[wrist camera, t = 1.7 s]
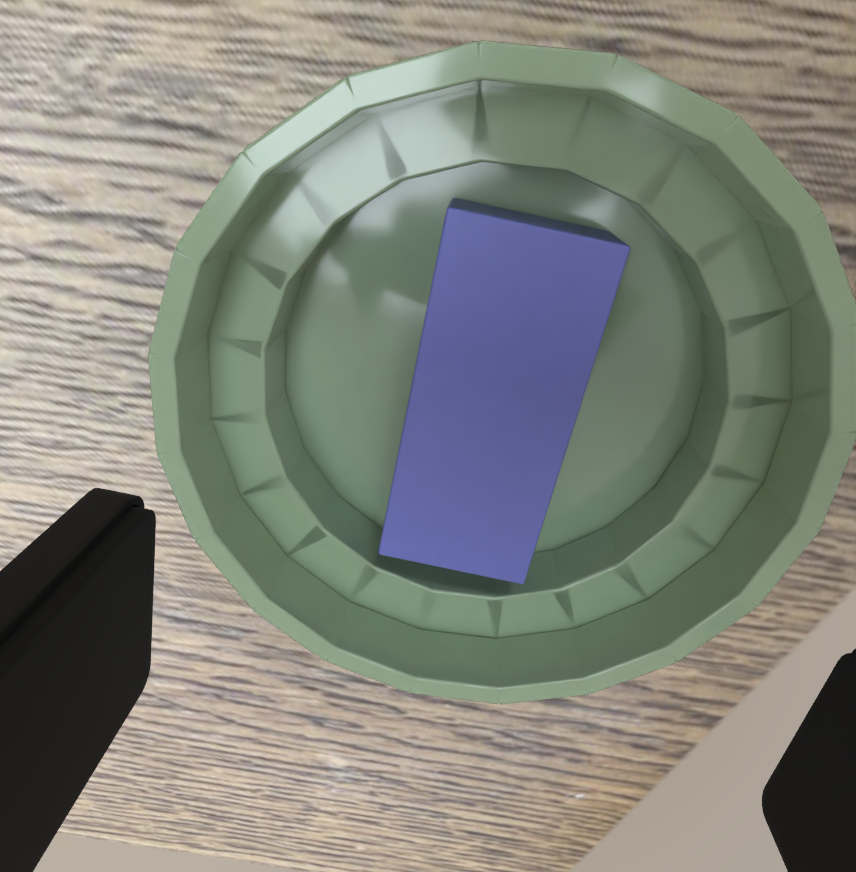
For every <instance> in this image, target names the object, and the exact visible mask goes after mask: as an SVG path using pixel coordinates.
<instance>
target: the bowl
mask: <svg viewBox="0 0 856 872" xmlns="http://www.w3.org/2000/svg"><path fill="white" fill-rule="evenodd" d="M452 198H459V199H463V200H468V201H473V202H477V203H482V204H486V205H491V206H496V207H500V208H505V209H509V210H514V211H519V212H523V213H528V214H533V215H537V216H542V217H546V218H551V219H556V220H560V221H565V222H570V223H574V224H579V225H583V226H588V227H593V228H597V229H602V230H606V231H610V232H611V233H612V234H614V235H615V236H616V237H618V238H619V239H620V240H622V241H623V242H624V243H626V244H627V245H628V246H630V252H629V255H628V258H627V262H626V265H625V268H624V271H623V274H622V277H621V280H620V284H619V287H618V290H617V293H616V296H615V299H614V303H613V306H612V309H611V312H610V315H609V318H608V321H607V325H606V328H605V331H604V334H603V337H602V340H601V343H600V347H599V350H598V353H597V356H596V359H595V362H594V365H593V369H592V372H591V375H590V378H589V381H588V384H587V387H586V391H585V394H584V397H583V400H582V403H581V406H580V409H579V413H578V416H577V419H576V422H575V425H574V428H573V431H572V435H571V438H570V441H569V444H568V447H567V450H566V453H565V457H564V460H563V463H562V466H561V469H560V472H559V475H558V479H557V482H556V485H555V488H554V491H553V494H552V497H551V501H550V504H549V507H548V510H547V513H546V516H545V519H544V523H543V526H542V529H541V532H540V535H539V538H538V541H537V545H536V548H535V551H534V554H533V557H532V560H531V563H530V567H529V570H528V573H527V576H526V579H525V582H524V584H519V583H514V582H509V581H504V580H499V579H495V578H490V577H485V576H480V575H475V574H471V573H466V572H461V571H456V570H451V569H447V568H442V567H437V566H432V565H427V564H423V563H418V562H413V561H408V560H403V559H399V558H394V557H389V556H384V555H380V554H379V553H378V550H379V545H380V540H381V535H382V530H383V525H384V520H385V515H386V510H387V505H388V500H389V495H390V490H391V485H392V480H393V475H394V470H395V465H396V460H397V455H398V450H399V445H400V440H401V435H402V430H403V425H404V420H405V415H406V410H407V405H408V400H409V395H410V390H411V385H412V380H413V375H414V369H415V364H416V359H417V354H418V349H419V344H420V339H421V334H422V329H423V324H424V319H425V314H426V309H427V304H428V299H429V294H430V289H431V284H432V279H433V274H434V269H435V264H436V259H437V254H438V249H439V244H440V239H441V234H442V229H443V224H444V219H445V214H446V209H447V207H448V205H449V203H450V201H451V199H452ZM821 210H822V208H821V206H820V205H819V204H818V203H817V202H816V201H815V200H814V198H813V197H812V196H811V195H810V194H809V193H808V192H807V191H806V189H805V188H804V187H803V186H802V185H801V184H800V183H799V182H798V180H797V179H796V178H795V177H794V176H793V175H792V174H791V173H790V171H789V170H788V169H787V168H786V167H785V166H784V165H783V164H782V162H781V161H780V160H779V159H778V158H777V157H776V156H775V155H774V153H773V152H772V151H771V150H770V149H769V148H768V147H767V146H766V144H765V143H764V142H763V141H762V140H761V139H760V138H759V137H758V135H757V134H756V133H755V132H754V131H753V130H752V129H751V128H750V126H749V125H748V124H747V123H746V122H745V121H744V120H743V119H742V117H741V116H738V115H737V116H736V113H735V112H733V111H731V110H729V109H727V108H725V107H723V106H721V105H719V104H717V103H715V102H713V101H711V100H709V99H707V98H705V97H703V96H701V95H699V94H697V93H695V92H693V91H691V90H689V89H687V88H685V87H683V86H681V85H679V84H677V83H675V82H673V81H671V80H669V79H667V78H665V77H663V76H661V75H659V74H657V73H655V72H653V71H651V70H649V69H647V68H645V67H643V66H641V65H639V64H637V63H635V62H633V61H631V60H629V59H627V58H625V57H623V56H621V55H617V56H616V54H614V53H609V52H598V51H588V50H577V49H567V48H557V47H546V46H536V45H525V44H515V43H504V42H494V41H483V40H482V41H479V43H478V41H473V42H469V43H465V44H462V45H458V46H454V47H450V48H447V49H443V50H439V51H436V52H432V53H428V54H424V55H421V56H417V57H413V58H410V59H406V60H402V61H399V62H395V63H391V64H387V65H384V66H380V67H376V68H373V69H369V70H365V71H361V72H358V73H354V74H350V75H349V76H347V78H342V79H341V80H340V81H338V82H337V83H335V84H334V85H333V86H331V87H330V88H328V89H327V90H326V91H324V92H323V93H321V94H320V95H318V96H317V97H316V98H314V99H313V100H311V101H310V102H309V103H307V104H306V105H304V106H303V107H302V108H300V109H299V110H297V111H296V112H295V113H293V114H292V115H290V116H289V117H288V118H286V119H285V120H283V121H282V122H281V123H279V124H278V125H276V126H275V127H273V128H272V129H271V130H269V131H268V132H266V133H265V134H264V135H262V136H261V137H259V138H258V139H257V140H255V141H254V142H252V143H251V144H250V145H248V146H247V147H245V148H244V150H243V152H241V153H239V155H238V156H237V158H236V159H235V160H234V162H233V163H232V165H231V166H230V168H229V169H228V171H227V172H226V174H225V175H224V177H223V178H222V179H221V181H220V182H219V184H218V185H217V187H216V188H215V190H214V191H213V193H212V194H211V196H210V197H209V199H208V200H207V201H206V203H205V204H204V206H203V207H202V209H201V210H200V212H199V213H198V215H197V216H196V218H195V219H194V220H193V222H192V223H191V225H190V226H189V228H188V229H187V231H186V232H185V234H184V235H183V237H182V238H181V239H180V241H179V242H178V244H177V246H176V248H177V249H175V251H174V254H173V258H172V261H171V265H170V269H169V273H168V277H167V281H166V285H165V289H164V293H163V297H162V301H161V305H160V308H159V312H158V316H157V320H156V324H155V328H154V332H153V336H152V340H151V344H150V348H149V352H150V353H149V354H148V361H149V372H150V384H151V395H152V407H153V418H154V430H155V441H156V451H157V452H158V453H157V455H158V457H159V460H160V462H161V464H162V467H163V469H164V471H165V474H166V476H167V478H168V481H169V483H170V485H171V488H172V490H173V492H174V495H175V497H176V499H177V502H178V504H179V507H180V509H181V511H182V514H183V516H184V518H185V521H186V523H187V525H188V528H189V530H190V532H191V535H192V537H193V539H195V541H196V543H197V544H198V545H199V546H200V548H201V549H202V550H203V551H204V552H205V554H206V555H207V556H208V557H209V558H210V560H211V561H212V562H213V563H214V564H215V566H216V567H217V568H218V569H219V570H220V572H221V573H222V574H223V575H224V576H225V578H226V579H227V580H228V581H229V583H230V584H231V585H232V586H233V587H234V589H235V590H236V591H237V592H238V593H239V595H240V596H241V597H242V598H243V599H244V601H245V602H246V603H247V604H248V605H249V607H250V608H252V609H253V611H254V612H255V613H257V614H258V615H260V616H261V617H262V618H264V619H265V620H267V621H268V622H270V623H271V624H272V625H274V626H275V627H277V628H278V629H280V630H281V631H282V632H284V633H285V634H287V635H288V636H290V637H291V638H292V639H294V640H295V641H297V642H298V643H300V644H301V645H302V646H304V647H305V648H307V649H308V650H310V651H311V652H312V653H314V654H315V655H317V656H318V657H320V658H321V659H322V660H324V661H326V660H327V662H329V663H331V664H334V665H337V666H339V667H342V668H344V669H347V670H350V671H352V672H355V673H358V674H360V675H363V676H366V677H368V678H371V679H373V680H376V681H379V682H381V683H384V684H387V685H389V686H392V687H395V688H397V689H400V690H403V691H405V692H410V693H412V694H420V695H429V696H437V697H445V698H453V699H461V700H469V701H477V702H485V703H493V704H498V703H499V704H509V703H518V702H527V701H536V700H545V699H554V698H563V697H572V696H581V695H588V694H589V693H595V692H597V691H600V690H603V689H606V688H608V687H611V686H614V685H617V684H619V683H622V682H625V681H627V680H630V679H633V678H636V677H638V676H641V675H644V674H647V673H649V672H652V671H655V670H657V669H660V668H663V667H666V666H668V665H671V664H674V663H676V662H677V661H680V660H681V659H683V658H684V657H686V656H687V655H689V654H690V653H692V652H693V651H694V650H696V649H697V648H699V647H700V646H702V645H703V644H705V643H706V642H707V641H709V640H710V639H712V638H713V637H715V636H716V635H718V634H719V633H720V632H722V631H723V630H725V629H726V628H728V627H729V626H731V625H732V624H733V623H735V622H736V621H738V620H739V619H741V618H742V617H744V616H745V615H746V614H748V613H749V612H751V611H752V610H754V609H755V608H756V606H759V605H760V603H761V602H762V601H763V600H764V599H765V597H766V596H767V595H768V594H769V592H770V591H771V590H772V589H773V588H774V586H775V585H776V584H777V583H778V581H779V580H780V579H781V578H782V577H783V575H784V574H785V573H786V572H787V570H788V569H789V568H790V567H791V566H792V564H793V563H794V562H795V561H796V559H797V558H798V557H799V556H800V555H801V553H802V552H803V551H804V550H805V548H806V547H807V546H808V545H809V544H810V542H811V541H812V540H813V539H814V537H815V536H816V535H817V534H818V533H819V531H820V529H819V528H821V527H822V525H823V522H824V520H825V517H826V515H827V512H828V510H829V507H830V504H831V502H832V499H833V497H834V494H835V492H836V489H837V487H838V484H839V482H840V479H841V477H842V474H843V472H844V469H845V466H846V464H847V461H848V459H849V456H850V454H851V451H852V449H853V446H854V444H855V441H856V301H855V299H854V296H853V293H852V290H851V287H850V285H849V282H848V279H847V276H846V273H845V271H844V268H843V265H842V262H841V259H840V256H839V254H838V251H837V248H836V245H835V242H834V240H833V237H832V234H831V231H830V228H829V226H828V223H827V220H826V217H825V214H824V212H823V211H821Z"/></svg>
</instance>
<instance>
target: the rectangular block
mask: <svg viewBox="0 0 856 872" xmlns="http://www.w3.org/2000/svg"><path fill="white" fill-rule="evenodd" d="M629 252H630V246H628V245H627V244H626V243H624V242H623V241H622V240H620V239H619V238H618V237H616V236H615V235H614V234H612V233H611V232H610V231H606V230H602V229H597V228H593V227H588V226H583V225H579V224H574V223H570V222H565V221H560V220H556V219H551V218H546V217H542V216H537V215H533V214H528V213H523V212H519V211H514V210H509V209H505V208H500V207H496V206H491V205H486V204H482V203H477V202H473V201H468V200H463V199H459V198H452V199H451V201H450V203H449V205H448V207H447V209H446V214H445V219H444V224H443V229H442V234H441V239H440V244H439V249H438V254H437V259H436V264H435V269H434V274H433V279H432V284H431V289H430V294H429V299H428V304H427V309H426V314H425V319H424V324H423V329H422V334H421V339H420V344H419V349H418V354H417V359H416V364H415V369H414V375H413V380H412V385H411V390H410V395H409V400H408V405H407V410H406V415H405V420H404V425H403V430H402V435H401V440H400V445H399V450H398V455H397V460H396V465H395V470H394V475H393V480H392V485H391V490H390V495H389V500H388V505H387V510H386V515H385V520H384V525H383V530H382V535H381V540H380V545H379V550H378V553H379V554H380V555H384V556H389V557H394V558H399V559H403V560H408V561H413V562H418V563H423V564H427V565H432V566H437V567H442V568H447V569H451V570H456V571H461V572H466V573H471V574H475V575H480V576H485V577H490V578H495V579H499V580H504V581H509V582H514V583H519V584H524V582H525V579H526V576H527V573H528V570H529V567H530V563H531V560H532V557H533V554H534V551H535V548H536V545H537V541H538V538H539V535H540V532H541V529H542V526H543V523H544V519H545V516H546V513H547V510H548V507H549V504H550V501H551V497H552V494H553V491H554V488H555V485H556V482H557V479H558V475H559V472H560V469H561V466H562V463H563V460H564V457H565V453H566V450H567V447H568V444H569V441H570V438H571V435H572V431H573V428H574V425H575V422H576V419H577V416H578V413H579V409H580V406H581V403H582V400H583V397H584V394H585V391H586V387H587V384H588V381H589V378H590V375H591V372H592V369H593V365H594V362H595V359H596V356H597V353H598V350H599V347H600V343H601V340H602V337H603V334H604V331H605V328H606V325H607V321H608V318H609V315H610V312H611V309H612V306H613V303H614V299H615V296H616V293H617V290H618V287H619V284H620V280H621V277H622V274H623V271H624V268H625V265H626V262H627V258H628V255H629Z"/></svg>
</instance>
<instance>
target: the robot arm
mask: <svg viewBox="0 0 856 872" xmlns="http://www.w3.org/2000/svg"><path fill="white" fill-rule="evenodd" d="M155 528H156V517H155V513H154V512H153V511H152V510H148V509H144V503H143V500H142V498H141V497H139V496H135V495H131V494H126V493H121V492H116V491H111V490H106V489H101V488H94V489H92V490H91V491H89V492H88V493H87V494H86V495H85V496H84V497H82V498H81V499H80V500H79V501H78V502H77V503H76V504H75V505H74V506H72V507H71V508H70V509H69V510H68V511H67V512H66V513H65V514H63V515H62V516H61V517H60V518H59V519H58V520H57V521H56V522H55V523H53V524H52V525H51V526H50V527H49V528H48V529H47V530H46V531H45V532H43V533H42V534H41V535H40V536H39V537H38V538H37V539H36V540H34V541H33V542H32V543H31V544H30V545H29V546H28V547H27V548H26V549H24V550H23V551H22V552H21V553H20V554H19V555H18V556H17V557H16V558H14V559H13V560H12V561H11V562H10V563H9V564H8V565H7V566H5V567H4V568H3V569H2V570H1V571H0V872H33V870H34V869H35V867H36V866H37V864H38V862H39V861H40V859H41V857H42V856H43V854H44V852H45V851H46V849H47V847H48V846H49V844H50V842H51V841H52V839H53V837H54V836H55V834H56V833H57V831H58V829H59V828H60V826H61V824H62V823H63V821H64V820H65V818H66V816H67V815H68V813H69V811H70V810H71V808H72V806H73V805H74V803H75V801H76V800H77V798H78V797H79V795H80V793H81V792H82V790H83V788H84V787H85V785H86V783H87V782H88V780H89V779H90V777H91V775H92V774H93V772H94V770H95V769H96V767H97V765H98V764H99V762H100V760H101V759H102V757H103V756H104V754H105V752H106V751H107V749H108V747H109V746H110V744H111V742H112V741H113V739H114V737H115V736H116V734H117V733H118V731H119V729H120V728H121V726H122V724H123V723H124V721H125V719H126V718H127V716H128V714H129V713H130V711H131V710H132V708H133V706H134V705H135V703H136V701H137V700H138V698H139V696H140V695H141V693H142V691H143V689H144V687H145V684H146V682H147V678H148V675H149V671H150V664H151V639H152V611H153V583H154V556H155ZM762 807H763V813H764V816H765V819H766V822H767V824H768V826H769V829H770V831H771V833H772V836H773V838H774V840H775V843H776V845H777V847H778V849H779V852H780V854H781V856H782V859H783V861H784V863H785V866H786V868H787V870H788V872H856V649H854V650H853V652H852V653H848V654H845V655H843V656H842V657H841V658H840V659H839V661H838V662H837V664H836V666H835V667H834V669H833V671H832V673H831V674H830V676H829V678H828V679H827V681H826V683H825V685H824V686H823V688H822V690H821V691H820V693H819V695H818V697H817V698H816V700H815V702H814V703H813V705H812V707H811V708H810V710H809V712H808V714H807V715H806V717H805V719H804V720H803V722H802V724H801V726H800V727H799V729H798V731H797V733H796V734H795V736H794V738H793V740H792V741H791V743H790V745H789V746H788V748H787V750H786V751H785V753H784V755H783V756H782V758H781V760H780V762H779V764H778V765H777V767H776V769H775V770H774V772H773V774H772V775H771V777H770V779H769V781H768V782H767V784H766V786H765V788H764V790H763V795H762Z"/></svg>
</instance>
